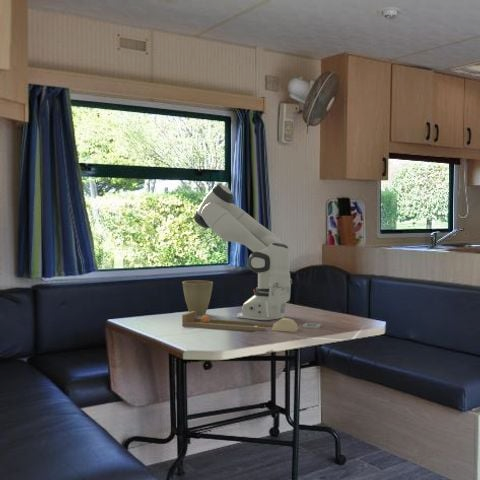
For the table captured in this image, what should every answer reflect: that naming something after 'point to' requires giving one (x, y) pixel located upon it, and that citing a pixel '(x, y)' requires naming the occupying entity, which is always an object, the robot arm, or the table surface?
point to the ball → (205, 319)
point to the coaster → (311, 325)
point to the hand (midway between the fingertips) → (279, 314)
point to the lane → (238, 324)
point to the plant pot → (197, 295)
